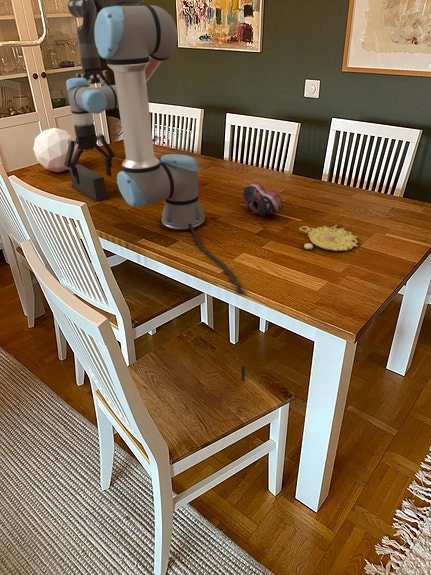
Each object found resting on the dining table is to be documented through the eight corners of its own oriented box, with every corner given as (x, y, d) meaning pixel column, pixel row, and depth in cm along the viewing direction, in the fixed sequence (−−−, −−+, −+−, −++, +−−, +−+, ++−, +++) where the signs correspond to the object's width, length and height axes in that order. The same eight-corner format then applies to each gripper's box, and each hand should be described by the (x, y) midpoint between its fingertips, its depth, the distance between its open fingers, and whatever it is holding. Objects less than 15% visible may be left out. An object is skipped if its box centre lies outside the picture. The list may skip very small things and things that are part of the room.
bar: (107, 198, 178) (103, 176, 173) (96, 201, 175) (92, 179, 171) (82, 183, 193) (78, 163, 188) (72, 186, 191) (68, 166, 186)
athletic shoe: (254, 181, 170) (227, 189, 167) (283, 176, 151) (253, 185, 147) (260, 210, 173) (234, 218, 170) (290, 209, 154) (261, 219, 150)
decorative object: (343, 255, 128) (285, 234, 139) (342, 262, 130) (284, 241, 140) (372, 230, 142) (317, 213, 152) (371, 237, 143) (316, 219, 153)
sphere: (65, 187, 210) (49, 161, 191) (35, 167, 214) (16, 139, 196) (92, 159, 215) (78, 132, 196) (62, 140, 219) (46, 111, 200)
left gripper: (101, 53, 182) (108, 96, 191) (69, 56, 175) (77, 100, 184) (110, 54, 177) (116, 98, 186) (76, 58, 170) (84, 102, 179)
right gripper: (109, 117, 173) (117, 170, 185) (47, 127, 160) (59, 184, 172) (118, 120, 168) (126, 174, 180) (55, 131, 155) (67, 189, 167)
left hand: (96, 99), depth 185 cm, fingers open, 8 cm apart
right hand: (93, 179), depth 176 cm, fingers open, 13 cm apart
